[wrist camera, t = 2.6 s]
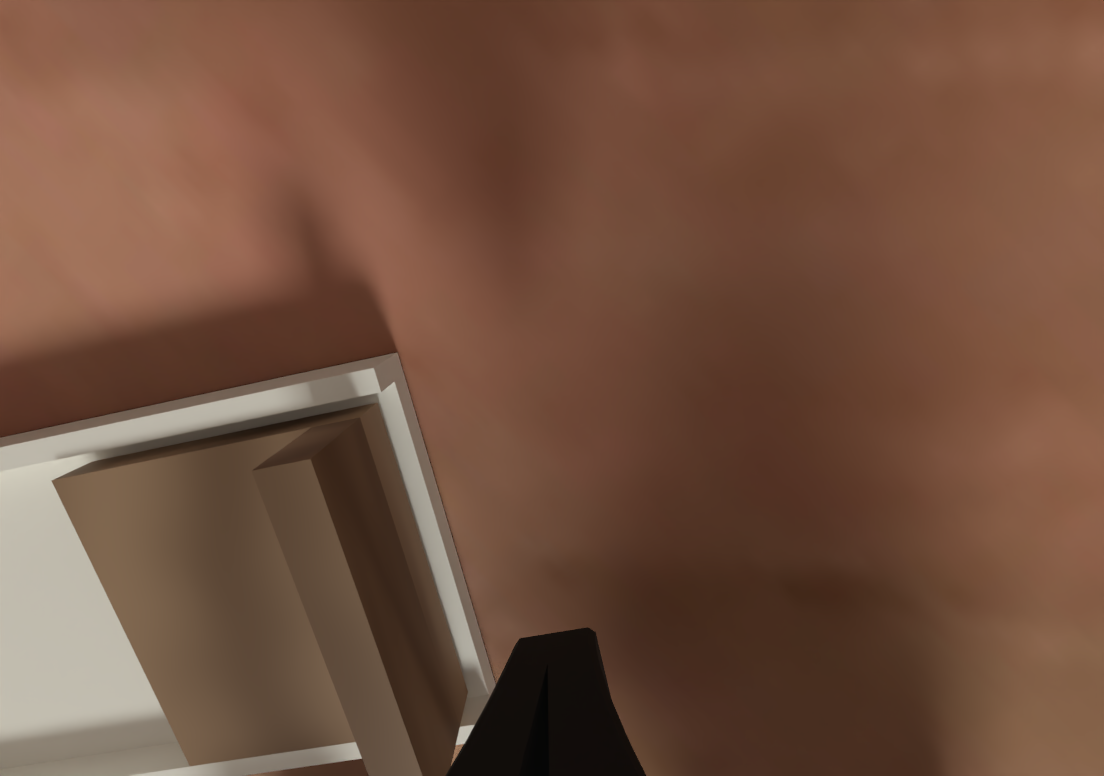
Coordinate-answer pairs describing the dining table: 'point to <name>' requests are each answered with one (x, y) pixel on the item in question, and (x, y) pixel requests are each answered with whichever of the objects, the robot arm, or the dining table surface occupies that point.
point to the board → (90, 621)
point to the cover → (277, 592)
